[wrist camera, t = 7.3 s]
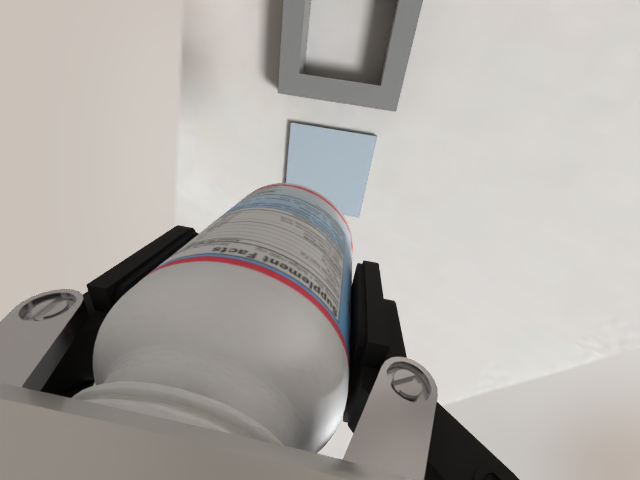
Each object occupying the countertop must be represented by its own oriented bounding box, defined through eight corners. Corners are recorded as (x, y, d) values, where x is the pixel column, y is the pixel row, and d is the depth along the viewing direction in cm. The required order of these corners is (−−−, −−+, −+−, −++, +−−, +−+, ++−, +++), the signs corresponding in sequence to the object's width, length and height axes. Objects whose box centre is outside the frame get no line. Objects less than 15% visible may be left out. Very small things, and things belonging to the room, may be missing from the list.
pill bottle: (308, 304, 15) (220, 666, 5) (216, 245, 14) (-102, 555, 4) (379, 230, 13) (458, 650, 3) (273, 150, 12) (-171, 381, 2)
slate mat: (291, 122, 28) (290, 122, 28) (376, 136, 28) (377, 136, 27) (285, 203, 32) (284, 204, 32) (359, 216, 32) (358, 217, 31)
